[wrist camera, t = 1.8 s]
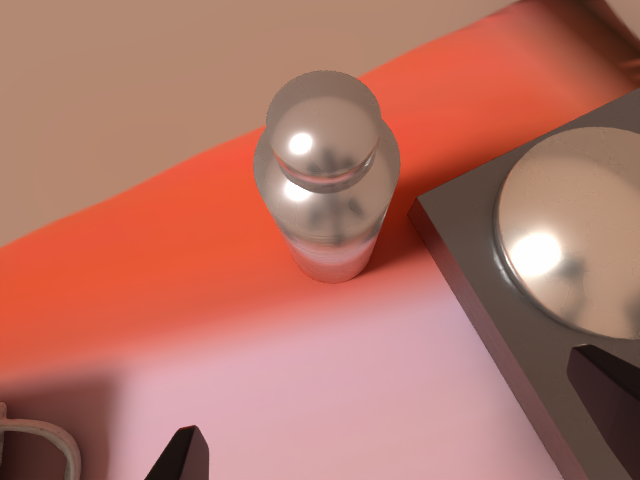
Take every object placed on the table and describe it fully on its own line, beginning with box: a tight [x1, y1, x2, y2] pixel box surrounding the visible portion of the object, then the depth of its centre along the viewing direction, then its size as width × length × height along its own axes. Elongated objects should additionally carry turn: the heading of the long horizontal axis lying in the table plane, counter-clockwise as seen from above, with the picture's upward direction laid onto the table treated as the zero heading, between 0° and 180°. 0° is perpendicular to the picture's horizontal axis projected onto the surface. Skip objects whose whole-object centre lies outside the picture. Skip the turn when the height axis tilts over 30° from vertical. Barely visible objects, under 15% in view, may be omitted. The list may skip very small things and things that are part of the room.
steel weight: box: [253, 71, 400, 284], centre depth 17 cm, size 5×5×14 cm
